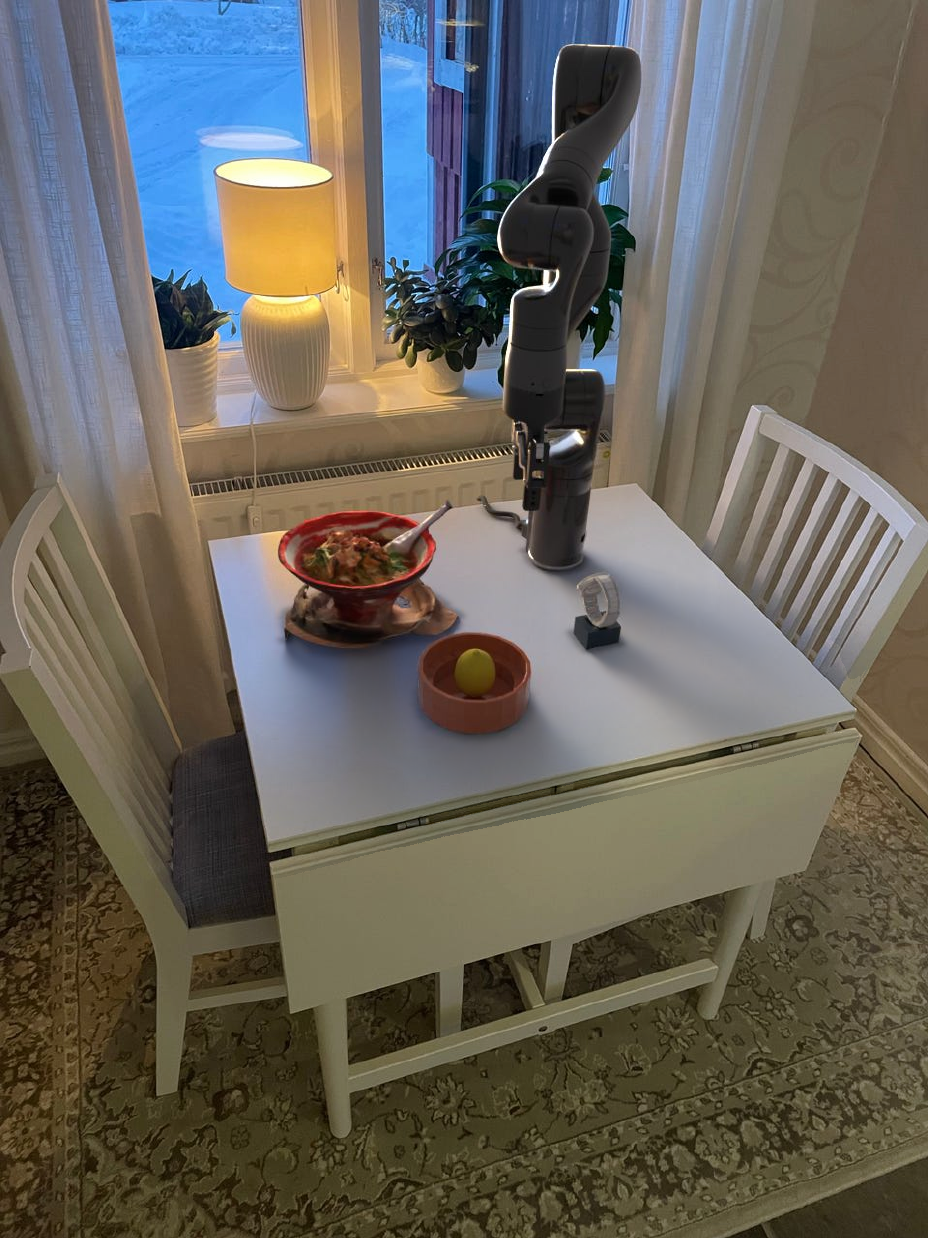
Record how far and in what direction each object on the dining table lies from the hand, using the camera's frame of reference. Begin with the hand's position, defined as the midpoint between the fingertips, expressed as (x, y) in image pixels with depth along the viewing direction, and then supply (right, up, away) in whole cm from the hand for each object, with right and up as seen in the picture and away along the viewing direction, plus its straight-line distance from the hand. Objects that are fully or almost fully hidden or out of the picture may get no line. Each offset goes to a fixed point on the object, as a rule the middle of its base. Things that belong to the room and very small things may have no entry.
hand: (525, 493), depth 124 cm
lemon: (-7, -28, +5) cm, 29 cm away
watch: (+12, -20, +18) cm, 29 cm away
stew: (-23, -16, +22) cm, 35 cm away
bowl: (-7, -28, +5) cm, 29 cm away
